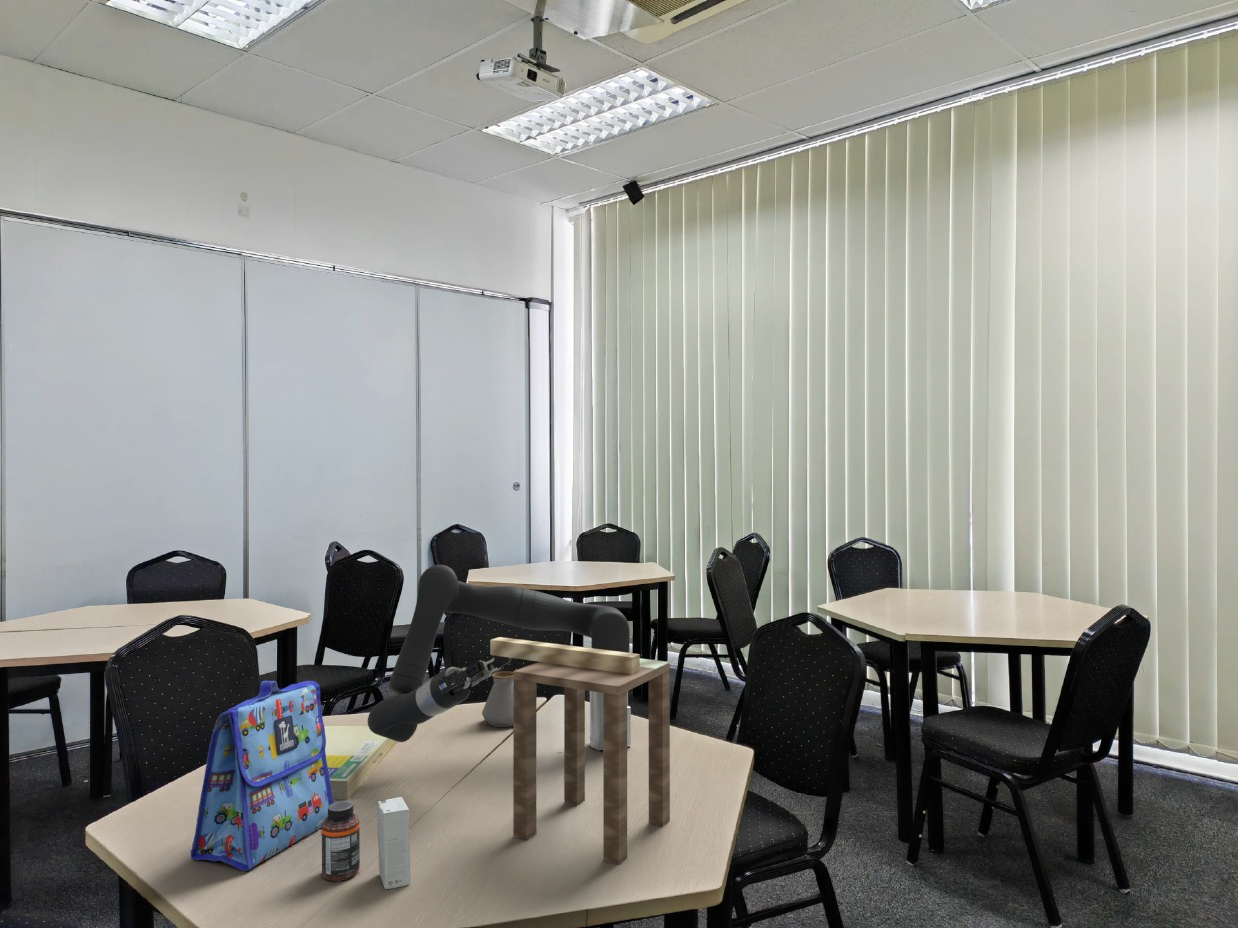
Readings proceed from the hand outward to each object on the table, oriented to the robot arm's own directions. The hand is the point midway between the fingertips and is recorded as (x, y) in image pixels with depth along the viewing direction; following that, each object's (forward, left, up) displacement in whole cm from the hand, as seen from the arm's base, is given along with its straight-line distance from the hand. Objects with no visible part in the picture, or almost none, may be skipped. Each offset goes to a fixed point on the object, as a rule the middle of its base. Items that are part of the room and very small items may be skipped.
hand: (496, 660), depth 161 cm
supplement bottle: (+30, +19, -29) cm, 46 cm away
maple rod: (-10, +12, +1) cm, 16 cm away
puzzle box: (+32, -34, -29) cm, 55 cm away
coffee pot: (-18, -50, -29) cm, 61 cm away
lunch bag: (+42, +1, -29) cm, 51 cm away
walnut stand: (-15, +17, -29) cm, 37 cm away
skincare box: (+22, +24, -29) cm, 43 cm away
